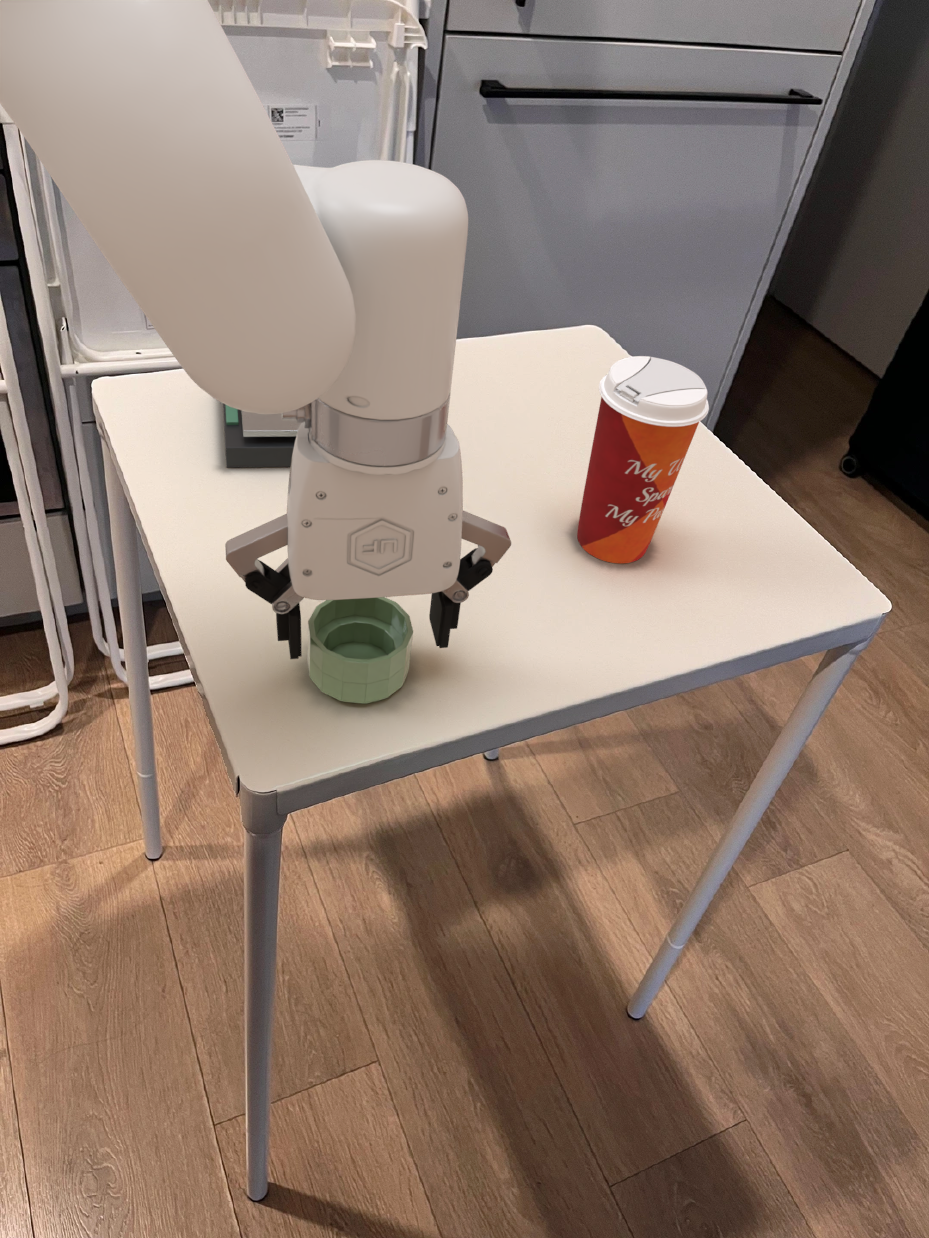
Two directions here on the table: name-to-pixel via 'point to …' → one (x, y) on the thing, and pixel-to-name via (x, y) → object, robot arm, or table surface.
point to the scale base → (253, 445)
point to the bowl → (359, 648)
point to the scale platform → (268, 425)
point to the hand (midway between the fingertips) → (367, 638)
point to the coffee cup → (637, 453)
